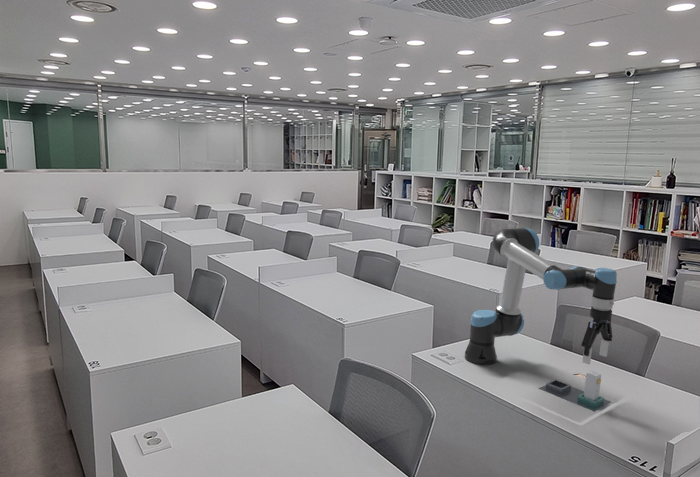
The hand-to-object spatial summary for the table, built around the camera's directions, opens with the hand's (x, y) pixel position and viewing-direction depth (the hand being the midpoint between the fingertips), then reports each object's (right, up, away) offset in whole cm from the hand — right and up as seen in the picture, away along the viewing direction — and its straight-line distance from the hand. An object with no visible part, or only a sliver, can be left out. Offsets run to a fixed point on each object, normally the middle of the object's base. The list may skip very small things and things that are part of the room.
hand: (594, 359), depth 205 cm
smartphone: (+7, -16, +24) cm, 29 cm away
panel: (-5, -17, +8) cm, 20 cm away
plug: (0, -17, +2) cm, 18 cm away
